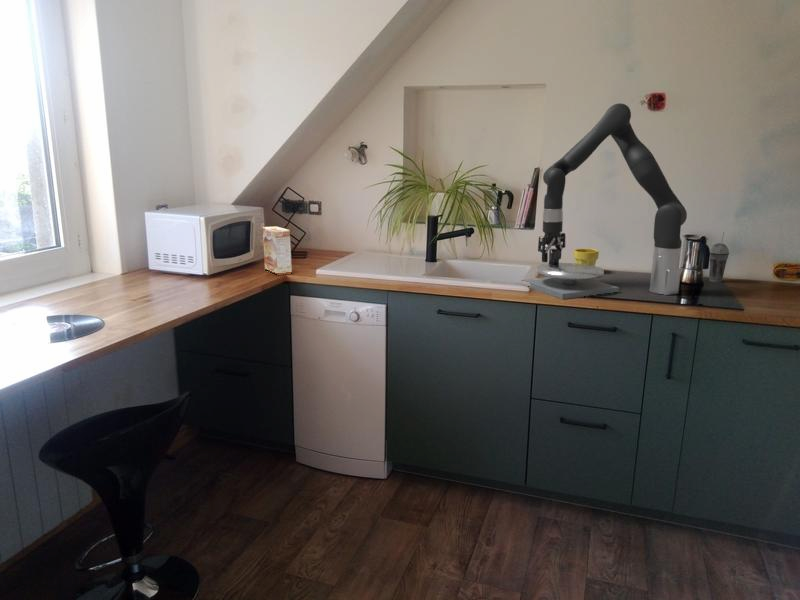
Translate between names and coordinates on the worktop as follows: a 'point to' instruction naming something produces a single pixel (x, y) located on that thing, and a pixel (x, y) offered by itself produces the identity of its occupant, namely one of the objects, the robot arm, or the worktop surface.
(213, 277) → the worktop surface
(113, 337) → the worktop surface
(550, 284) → the wheel base
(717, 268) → the beverage cup
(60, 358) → the worktop surface
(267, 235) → the coffeecake box
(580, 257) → the plant pot
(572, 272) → the handwheel
